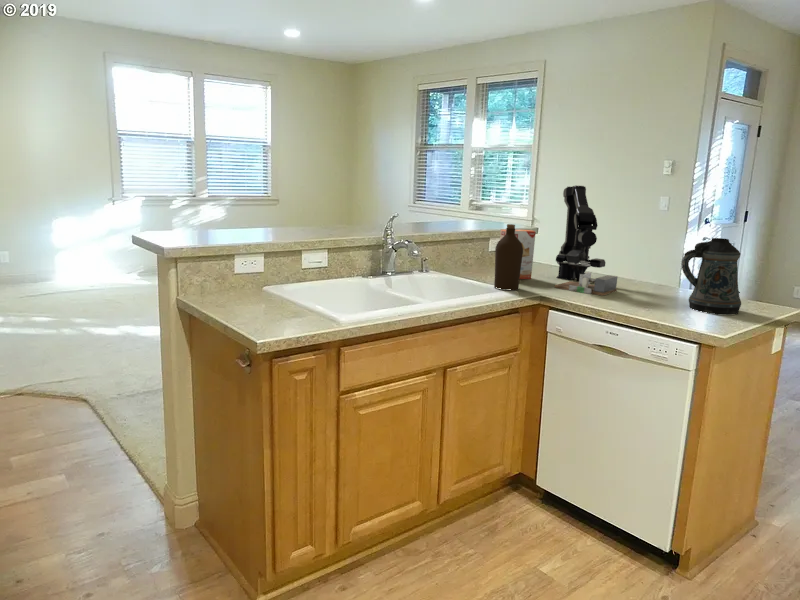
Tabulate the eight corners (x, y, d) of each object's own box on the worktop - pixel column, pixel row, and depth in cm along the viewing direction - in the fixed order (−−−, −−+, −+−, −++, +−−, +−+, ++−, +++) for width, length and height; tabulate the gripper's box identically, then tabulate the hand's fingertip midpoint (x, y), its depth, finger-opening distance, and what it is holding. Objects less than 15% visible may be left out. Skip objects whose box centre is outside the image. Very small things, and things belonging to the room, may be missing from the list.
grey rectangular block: (593, 291, 234) (595, 278, 233) (606, 287, 243) (607, 275, 242) (603, 292, 231) (605, 279, 230) (616, 288, 240) (617, 276, 239)
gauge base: (553, 288, 243) (554, 282, 243) (569, 283, 254) (570, 278, 254) (601, 296, 230) (602, 290, 230) (616, 291, 241) (617, 286, 241)
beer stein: (750, 315, 207) (763, 242, 202) (701, 315, 203) (712, 241, 198) (717, 304, 223) (727, 236, 218) (670, 304, 219) (679, 235, 214)
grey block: (576, 287, 238) (577, 274, 237) (587, 284, 246) (588, 271, 245) (589, 289, 235) (590, 276, 234) (599, 286, 243) (600, 273, 242)
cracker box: (502, 279, 257) (506, 230, 253) (496, 277, 263) (499, 229, 258) (532, 279, 261) (536, 230, 257) (525, 276, 267) (529, 229, 262)
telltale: (581, 288, 237) (582, 278, 236) (583, 287, 238) (584, 277, 237) (585, 288, 236) (586, 278, 235) (587, 288, 237) (588, 278, 236)
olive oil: (507, 292, 231) (512, 226, 226) (487, 287, 239) (491, 223, 234) (525, 289, 238) (530, 225, 233) (504, 284, 246) (509, 223, 241)
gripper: (551, 241, 241) (547, 280, 244) (596, 247, 229) (591, 287, 232) (563, 240, 249) (560, 277, 252) (608, 245, 237) (603, 284, 240)
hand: (577, 281), depth 244 cm, fingers closed
